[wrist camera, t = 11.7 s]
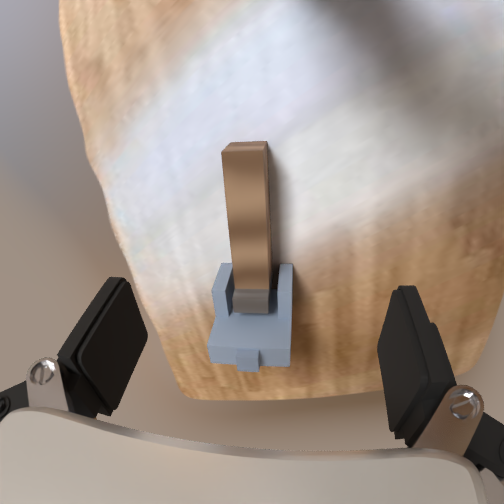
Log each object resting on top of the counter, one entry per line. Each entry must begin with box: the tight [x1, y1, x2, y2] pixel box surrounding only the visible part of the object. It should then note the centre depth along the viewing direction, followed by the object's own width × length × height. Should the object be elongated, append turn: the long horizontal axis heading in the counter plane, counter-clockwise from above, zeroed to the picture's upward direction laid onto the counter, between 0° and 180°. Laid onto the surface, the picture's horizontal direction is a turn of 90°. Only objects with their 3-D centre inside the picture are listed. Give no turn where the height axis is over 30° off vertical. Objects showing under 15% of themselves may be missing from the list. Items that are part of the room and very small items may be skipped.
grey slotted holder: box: [207, 263, 293, 372], centre depth 38 cm, size 7×9×12 cm
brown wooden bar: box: [221, 141, 272, 314], centre depth 36 cm, size 18×4×7 cm, turn 3°
